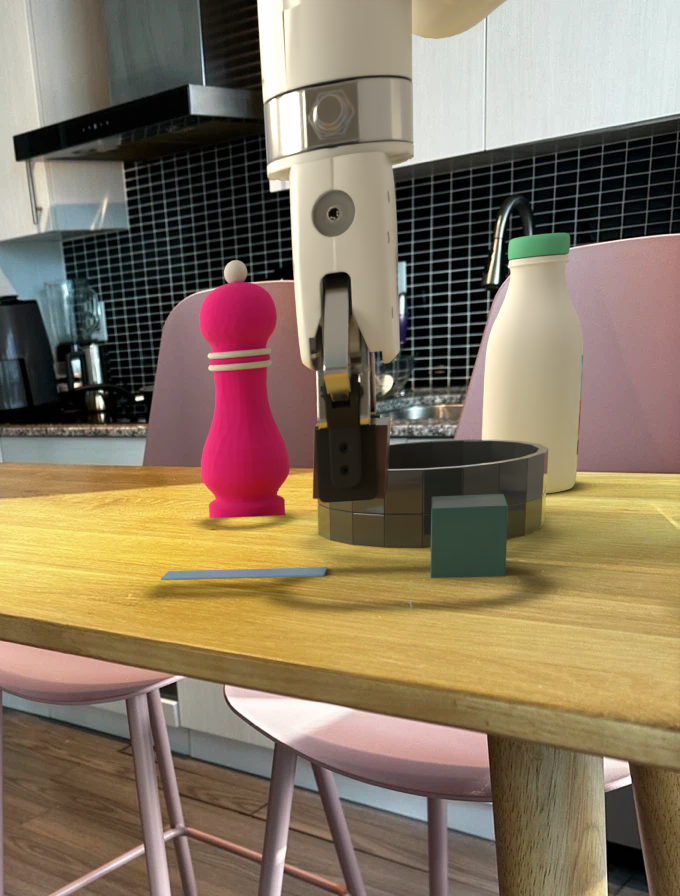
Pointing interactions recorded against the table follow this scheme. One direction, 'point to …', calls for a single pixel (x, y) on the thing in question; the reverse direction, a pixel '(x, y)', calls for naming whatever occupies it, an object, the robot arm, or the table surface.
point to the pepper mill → (242, 402)
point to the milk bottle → (537, 358)
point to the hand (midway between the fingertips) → (351, 489)
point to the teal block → (468, 536)
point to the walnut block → (382, 456)
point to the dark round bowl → (442, 491)
